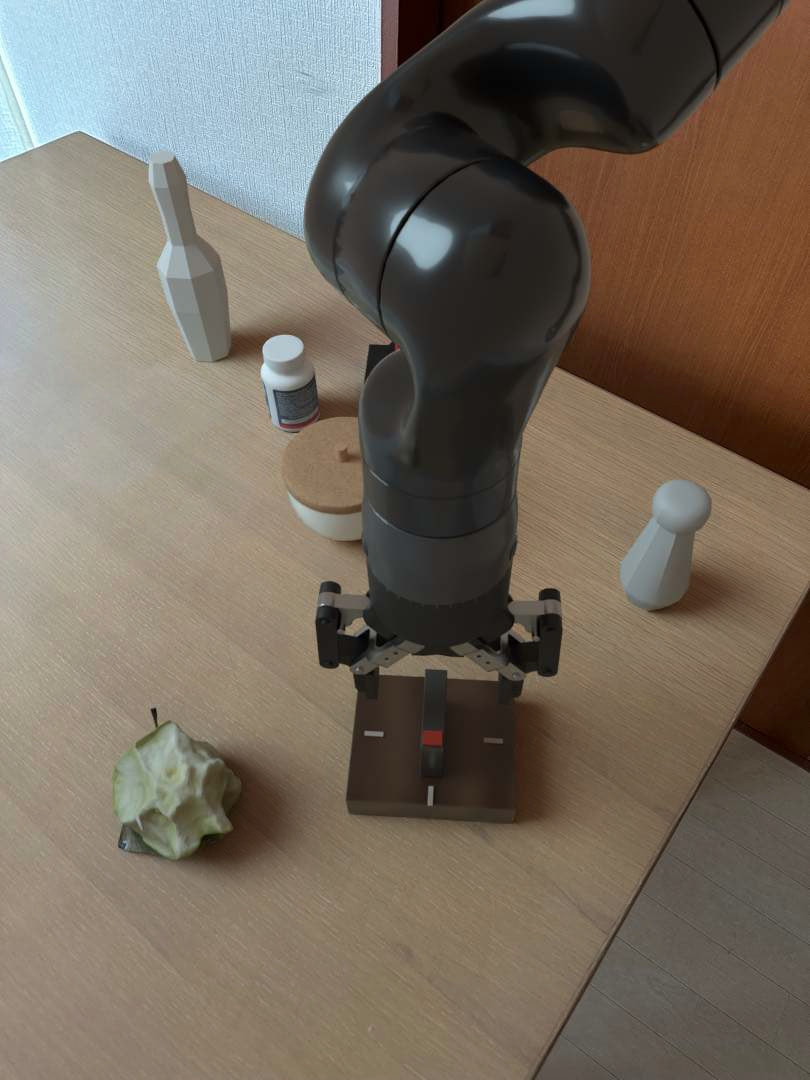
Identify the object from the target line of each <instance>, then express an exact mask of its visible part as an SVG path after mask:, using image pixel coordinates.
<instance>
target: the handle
mask: <svg viewBox="0 0 810 1080" xmlns="http://www.w3.org/2000/svg"><path fill="white" fill-rule="evenodd" d="M424 677H425V679H424V695H423V712H422V729H421V746H420V775H421V776H432V777H442V776H443V763H444V743H445V719H446V695H447V678H448V670H447V669H436V668H435V669H434V668H425V670H424Z"/></svg>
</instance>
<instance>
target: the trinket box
mask: <svg viewBox="0 0 810 1080" xmlns="http://www.w3.org/2000/svg"><path fill="white" fill-rule="evenodd" d="M280 473H281V478H282V481H283V484H284V487H285V491H286V494H287V497H288V500H289V502H290V505H291V507H292V509H293V511H294V512H295V514H296V516H297V517H298V519H299V520H300V521H301V522H302V524H304V525H305V526H306V527H307V528H308V529H310V531H312V532H313V533H315V534H317V535H319V536H321V537H323V538H326V539H329V540H333V541H338V542H355V541H358V540H362V539H361V533H362V530H363V528H362V499H363V490H364V485H363V475H362V465H361V455H360V445H359V432H358V416H336V417H330V418H329V417H328V418H326V419H321V420H317V421H316V422H315V423H314V424H311V425H309V426H308V427H306V428H304V429H303V430H301V431H298V433H296V434H295V435H294V436H293V437H292V438H291V439H290V441H288V443H287V444H286V446H285V448H284V450H283V452H282V454H281V460H280Z"/></svg>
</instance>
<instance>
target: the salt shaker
mask: <svg viewBox="0 0 810 1080" xmlns="http://www.w3.org/2000/svg"><path fill="white" fill-rule="evenodd" d="M712 505H713V503H712V497H711V496H710V494H709V492H708V491H707V490H706V488H704V487H703V486H701V485H700V484H698V483H697V482H694V481H690V480H687V479H671V480H668V481H666V482H664V483H662V484H661V485H660V487H659V488H658V489H657V490H656V491H655V493H654V495H653V496H652V501H651V515H652V517H651V519H650V520H649V522H648V523H647V524H646V526H645V528H644V529H643V530H642V532H641V533H640V534H639V536H638V538H637V539H636V540H635V542H634V543H633V545H632V546H631V548H630V549H629V551H628V552H627V553H626V555H625V556H624V558H623V559H622V560H621V562H620V563H619V564H620V565H619V581H620V584H621V585H622V588H623V590H624V592H625V595H626V598H627V601H628V602H630V603H631V604H633V605H635V606H637V607H638V608H640V609H642V610H644V611H646V612H651V611H655V610H659V609H664V608H667V607H669V606H672V605H674V604H675V603H677V602H679V601H681V599H682V598H683V597H684V595H685V593H686V592H687V591H688V589H689V587H690V579H691V572H692V571H691V569H692V562H693V554H694V553H693V552H694V544H695V539H696V538H695V536H696V532H697V531H700V530H701V529H703V528H704V526H705V525H706V523H707V522H708V521H709V518H710V517H711V514H712V510H713V509H712V507H713V506H712Z"/></svg>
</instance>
